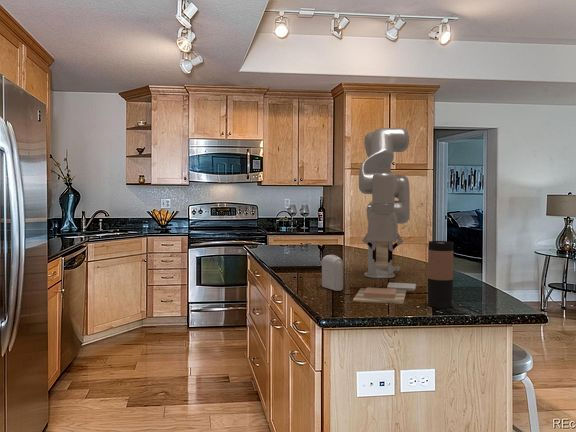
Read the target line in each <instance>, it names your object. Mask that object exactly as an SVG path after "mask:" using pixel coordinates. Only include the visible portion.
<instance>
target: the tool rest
mask: <svg viewBox="0 0 576 432" xmlns="http://www.w3.org/2000/svg"><path fill="white" fill-rule="evenodd" d="M386 288H389V289H397V290H402V291H409V292H410V291H412V292H413V291H414V292H416V288H417V284H416V283H406V282H405V283H404V282H388V284H387V287H386Z"/></svg>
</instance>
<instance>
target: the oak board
mask: <svg viewBox="0 0 576 432" xmlns="http://www.w3.org/2000/svg"><path fill="white" fill-rule="evenodd" d="M366 289H367V288H361V287H360V289H359V290H358V291H357V293H356V294H355V296H354V297H353V299H352V302H361V303H378V304H392V303H393V304H394V305H396V304H397V305H404V304H405V300H406V299H405V298H406V294H407V290H396V296H395V299H381V298H364V292H365V290H366Z"/></svg>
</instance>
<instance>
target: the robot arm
mask: <svg viewBox="0 0 576 432" xmlns="http://www.w3.org/2000/svg"><path fill="white" fill-rule="evenodd" d="M363 139H364V142H363V143H364V149H365V152H366V158H365V159H364V160H363V161H362V163H361V165H360V167H359V169H358V189H359V191H360V193H362V194H364V195H372V200H371V201H369V203H368V204H367V206H366V219H367V233H366V234H365V236H364V237H363V239H362V242H363V243H364V244H365V245H367V248H368V249H367V259H368V261H367V271H366V272H365V271H364V274H363V275H364V277H366V278H371V279H393V278H395V276H396V274H395V272H396V271H397V272H398V271H400V270H401V266H399V265H395V266H394V265H392V261H393V251H394V250H395V249H396V248H397V247H398V246H400V245H402V244H403V243H404V240H403V238H402V237H401V235H400V234H399V229H398V228H399V226H398V225H401V224H406V223H408V222H409V220H410V214H411V209H410V207H411V206H410V204H411V203H410V202H411V201H410V195H411V194H410V181H409V178H408V177H407V176H406V175H404V174H395V173H392V163H393V162H394V160H395V159H394V158H395V155H394V154H395V153H403V152H405V151H407V149H408V147H409V145H410V135H409V131H408V130H407V129H406V128H404V127H381V128H377V129H375V130H374V131H371V132H368V133H366V134H365V136H364V138H363ZM395 199H397V200H395ZM376 242H388V244H389V251H388V263H389V273H388V275H380V274H376ZM393 243H394V244H393Z"/></svg>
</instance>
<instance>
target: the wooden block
mask: <svg viewBox="0 0 576 432" xmlns="http://www.w3.org/2000/svg"><path fill="white" fill-rule="evenodd" d="M388 251H389V244H388V242H376V274H380V275H388V273H389V263H388Z"/></svg>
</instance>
